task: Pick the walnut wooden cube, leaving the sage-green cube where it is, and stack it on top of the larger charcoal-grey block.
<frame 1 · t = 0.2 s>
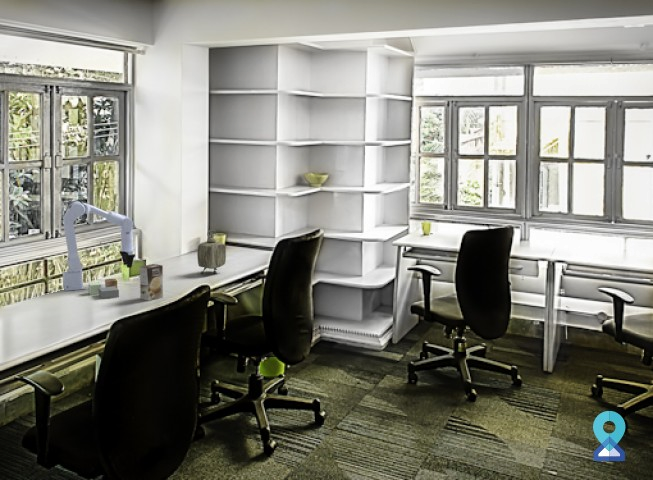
hand: (127, 266, 376), 10 cm above the table, tool pointing down, fingers open, 7 cm apart
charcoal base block: (108, 296, 353), on the table
coffee box: (151, 298, 351), on the table
walnut cube: (111, 289, 366), on the table
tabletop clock: (212, 273, 407), on the table
sage cube: (95, 293, 358), on the table
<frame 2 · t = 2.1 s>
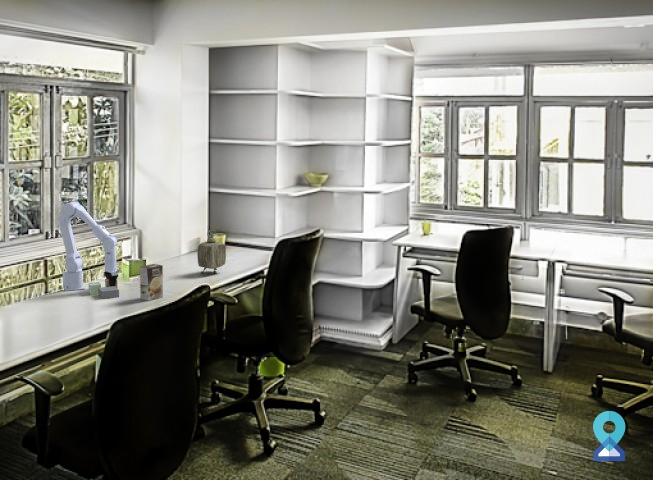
hand: (111, 286, 366), 1 cm above the table, tool pointing down, fingers closed on walnut cube, 5 cm apart
walnut cube: (111, 289, 366), on the table, touching gripper
everything else where it was.
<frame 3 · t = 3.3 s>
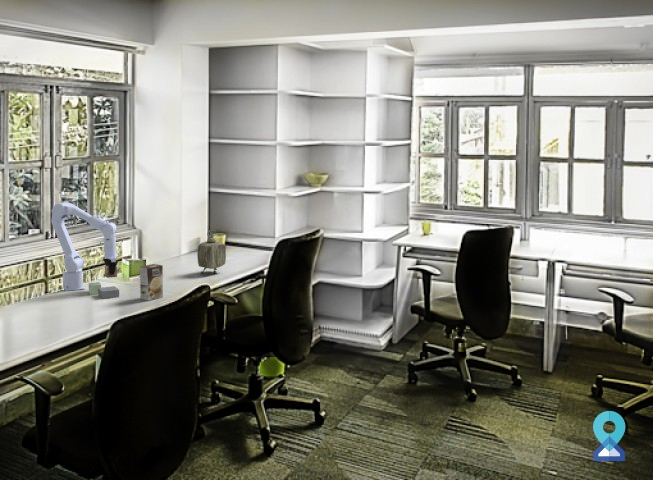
hand: (110, 273, 364), 8 cm above the table, tool pointing down, fingers closed on walnut cube, 5 cm apart
walnut cube: (111, 276, 364), point 7 cm above the table, touching gripper
everything else where it was.
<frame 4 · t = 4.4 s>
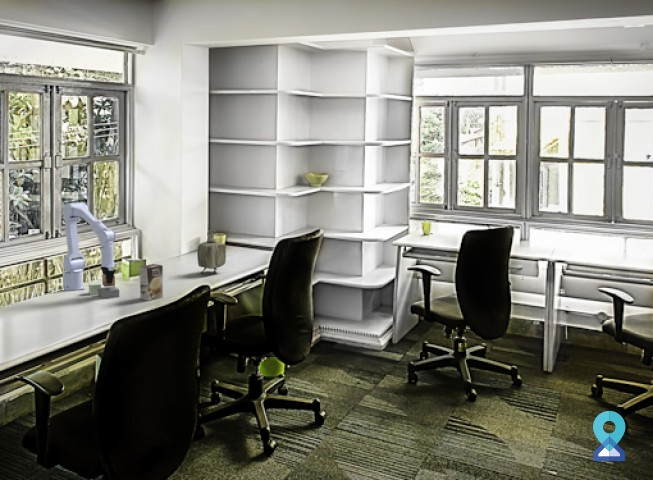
hand: (108, 282, 352), 7 cm above the table, tool pointing down, fingers closed on walnut cube, 5 cm apart
walnut cube: (108, 285, 352), point 5 cm above the table, touching gripper
everything else where it was.
when the fingers open (6 cm above the table, at t = 5.0 s): walnut cube drops 1 cm, resting on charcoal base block.
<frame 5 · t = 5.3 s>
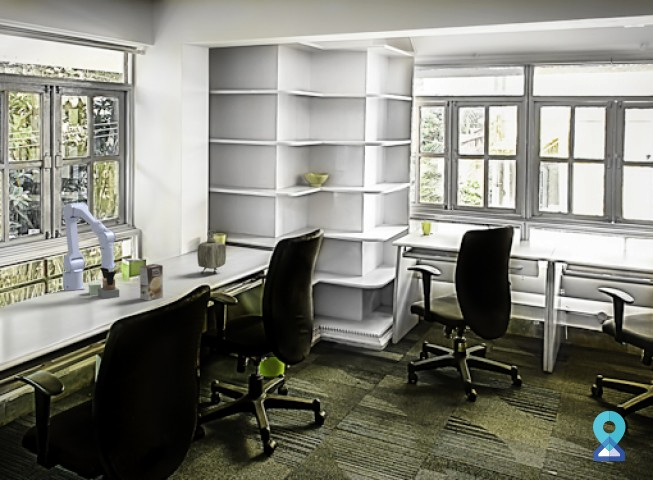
hand: (108, 283, 352), 6 cm above the table, tool pointing down, fingers open, 7 cm apart
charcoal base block: (108, 296, 353), on the table, touching walnut cube
walnut cube: (109, 288, 352), point 4 cm above the table, touching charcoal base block
everything else where it was.
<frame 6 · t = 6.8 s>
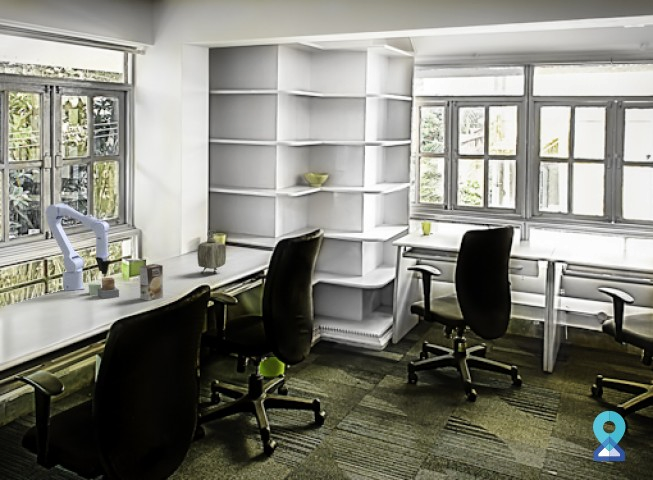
hand: (102, 272, 362), 9 cm above the table, tool pointing down, fingers open, 7 cm apart
nothing on the table moved.
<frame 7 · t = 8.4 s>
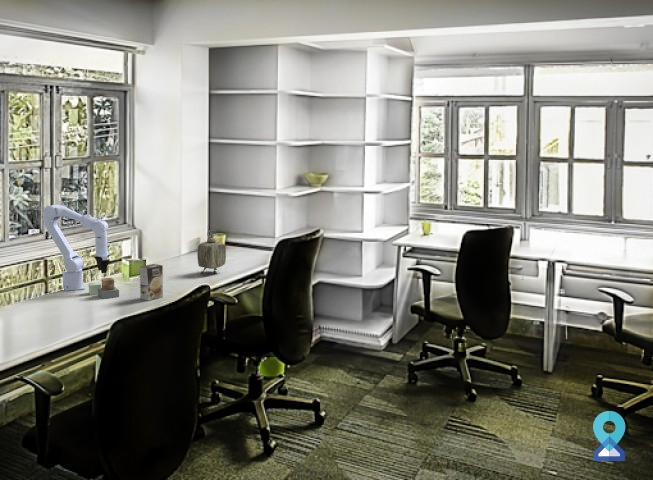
hand: (102, 271, 364), 9 cm above the table, tool pointing down, fingers open, 7 cm apart
nothing on the table moved.
at the end: walnut cube 0.2 cm off-centre on the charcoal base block, point 4.0 cm above the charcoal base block's base; walnut cube tilted 0°; the gripper is holding nothing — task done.
